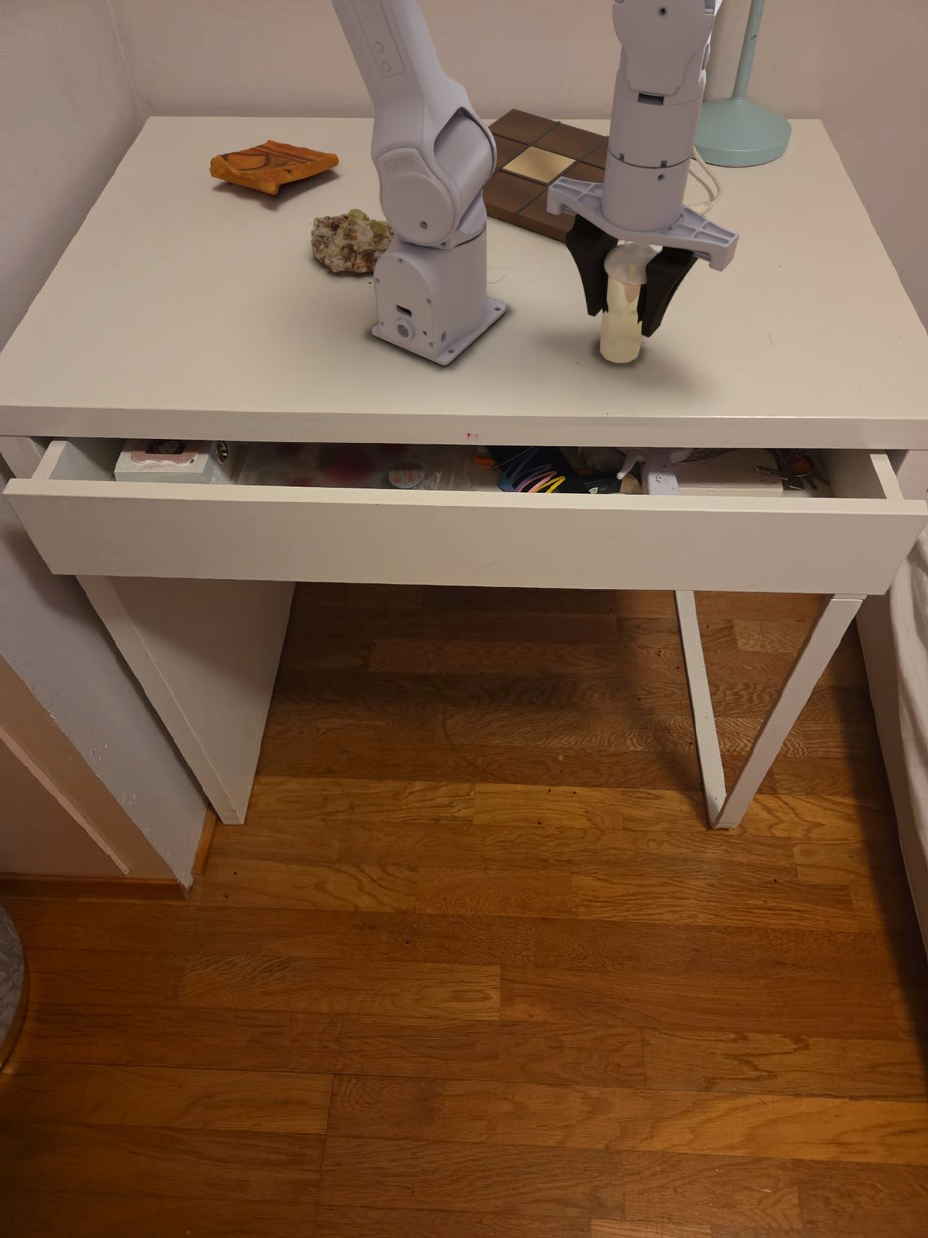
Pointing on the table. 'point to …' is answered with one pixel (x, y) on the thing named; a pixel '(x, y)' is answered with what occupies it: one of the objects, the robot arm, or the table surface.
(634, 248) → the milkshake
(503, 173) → the board
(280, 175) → the pottery fragment
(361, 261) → the mineral rock
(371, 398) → the table surface
